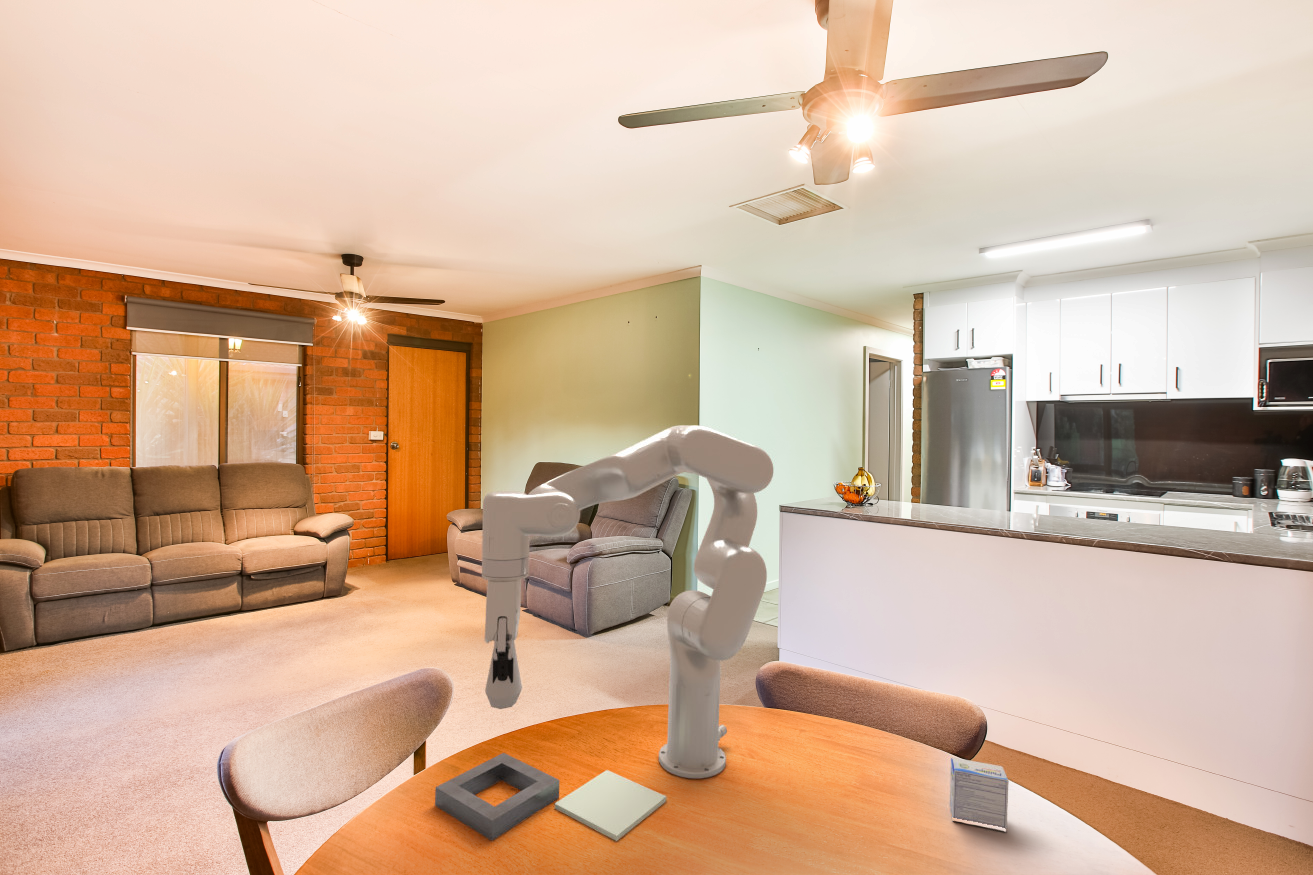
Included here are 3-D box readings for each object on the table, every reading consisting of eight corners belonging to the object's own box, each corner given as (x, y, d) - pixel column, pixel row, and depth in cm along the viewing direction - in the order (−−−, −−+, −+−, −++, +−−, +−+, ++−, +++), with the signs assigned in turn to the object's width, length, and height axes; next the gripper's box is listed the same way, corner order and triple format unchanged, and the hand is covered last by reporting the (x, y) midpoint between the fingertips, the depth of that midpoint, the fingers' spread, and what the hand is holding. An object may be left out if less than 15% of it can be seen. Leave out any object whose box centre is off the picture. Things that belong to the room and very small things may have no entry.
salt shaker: (527, 697, 104) (528, 620, 104) (512, 712, 98) (513, 631, 98) (494, 694, 105) (495, 618, 105) (478, 708, 99) (479, 628, 99)
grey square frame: (503, 769, 111) (503, 752, 111) (558, 797, 103) (559, 779, 103) (434, 805, 100) (435, 786, 100) (491, 840, 92) (492, 820, 92)
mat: (606, 774, 111) (606, 769, 111) (666, 800, 103) (666, 796, 103) (554, 808, 100) (554, 803, 100) (616, 840, 93) (616, 835, 93)
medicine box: (1001, 818, 101) (1003, 765, 101) (1007, 834, 97) (1009, 779, 97) (948, 807, 104) (950, 755, 104) (952, 822, 100) (953, 769, 100)
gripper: (487, 557, 109) (485, 661, 109) (475, 579, 93) (473, 701, 93) (531, 556, 110) (529, 659, 110) (526, 578, 94) (524, 698, 94)
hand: (503, 677), depth 102 cm, fingers closed on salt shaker, 3 cm apart
